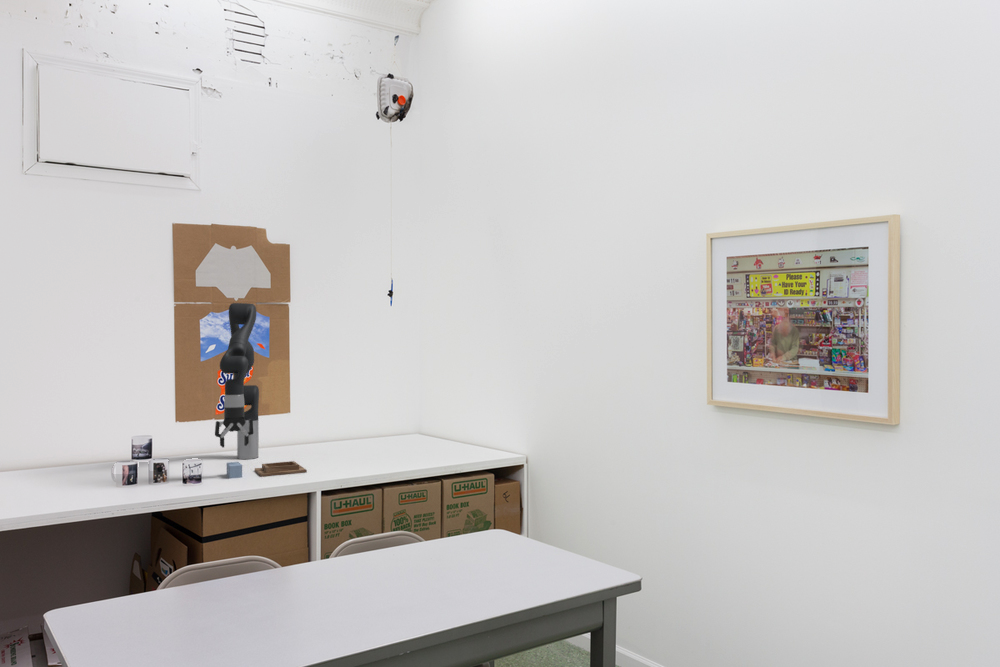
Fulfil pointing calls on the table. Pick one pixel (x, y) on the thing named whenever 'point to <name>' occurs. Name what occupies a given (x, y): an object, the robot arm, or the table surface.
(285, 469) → the tray
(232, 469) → the bar
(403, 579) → the table surface
